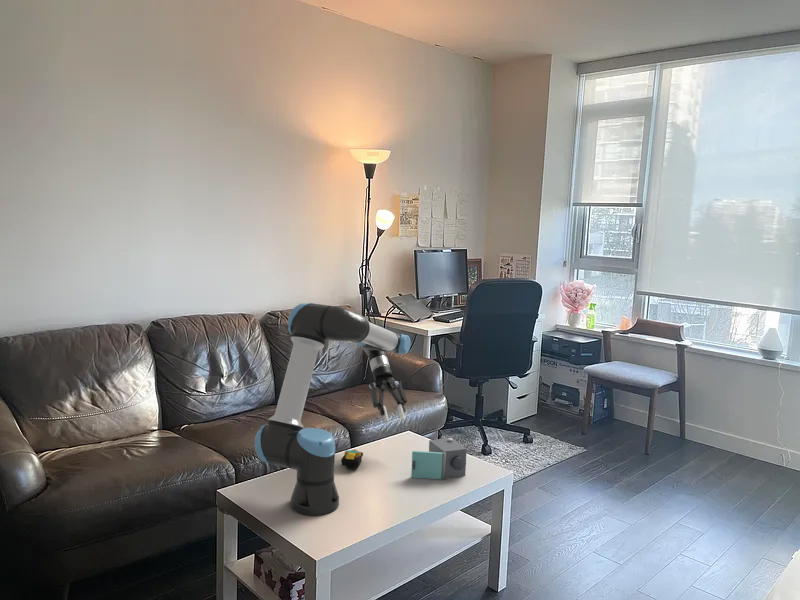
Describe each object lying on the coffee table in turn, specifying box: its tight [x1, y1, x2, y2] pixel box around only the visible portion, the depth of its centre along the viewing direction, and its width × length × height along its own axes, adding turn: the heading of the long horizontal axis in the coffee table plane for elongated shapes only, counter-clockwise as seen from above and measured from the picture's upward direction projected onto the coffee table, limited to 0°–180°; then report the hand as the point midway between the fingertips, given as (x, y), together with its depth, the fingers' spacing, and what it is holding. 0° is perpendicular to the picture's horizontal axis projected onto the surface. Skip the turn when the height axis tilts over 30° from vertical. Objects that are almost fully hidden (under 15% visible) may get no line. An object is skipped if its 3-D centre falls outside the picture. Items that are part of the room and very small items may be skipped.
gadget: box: [340, 448, 364, 470], centre depth 224 cm, size 6×13×6 cm, turn 173°
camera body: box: [428, 437, 467, 479], centre depth 221 cm, size 9×14×11 cm, turn 23°
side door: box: [410, 450, 446, 481], centre depth 214 cm, size 12×2×10 cm, turn 85°
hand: (395, 421), depth 231 cm, fingers open, 6 cm apart
